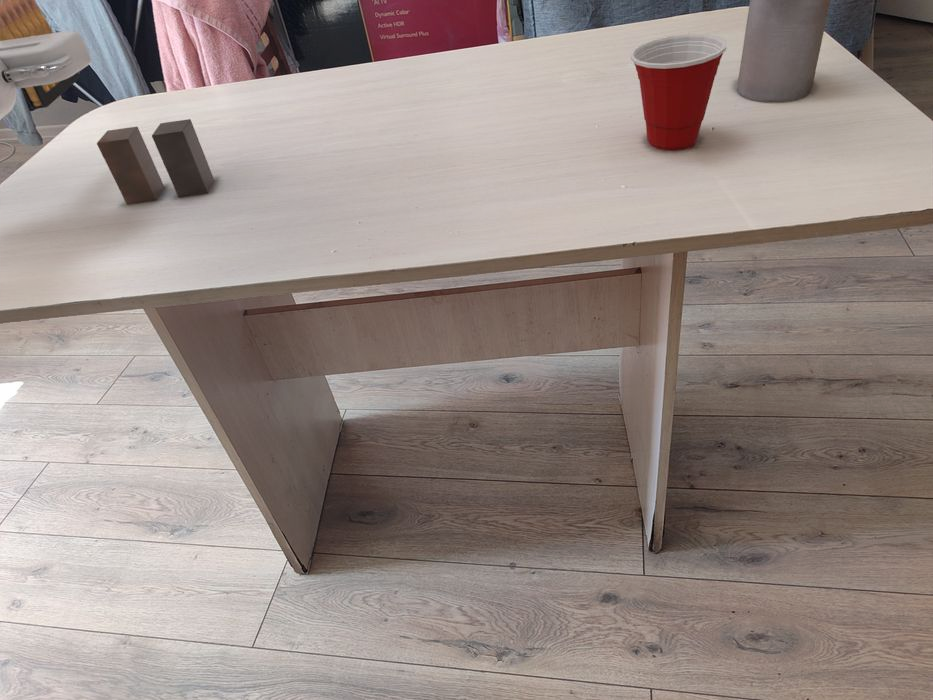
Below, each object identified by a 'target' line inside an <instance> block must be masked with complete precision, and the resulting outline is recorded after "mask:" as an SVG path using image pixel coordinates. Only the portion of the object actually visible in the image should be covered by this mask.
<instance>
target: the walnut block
mask: <svg viewBox="0 0 933 700" xmlns="http://www.w3.org/2000/svg"><path fill="white" fill-rule="evenodd" d="M96 145H97V148H98V149H99V152H100V153H101V155H102V158H103V160H104V161H105V164H106V165H107V167H108V170H109V172H110V173H111V176H112V177H113V179H114V181H115V183H116V186H117V187H118V190H119V191H120V194H121V196H122V198H123V200H124V202H125V204H126V205H127V206H129V205H135V204H141V203H142V204H143V203H149V202H156V201H158V199H159V197H160V196H161V194H162V192H163V190H164V188H165V185H164V183H163V179H162V178H161V176H160V174H159V171H158V170H157V167H156V165H155V162H154V160H153V158H152V156H151V154H150V152H149V149H148V146H147V144H146V142H145V140H144V137H143V136H142V133H141V132H140V129H139V126H130V127H124V128H116V129H110V130H109V129H108V130H107V131H106V132H105V133H104V134H103V135H102V136H101V137H100V139H99V140H98V141H97V142H96Z"/></svg>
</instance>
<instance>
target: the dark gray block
mask: <svg viewBox="0 0 933 700" xmlns="http://www.w3.org/2000/svg"><path fill="white" fill-rule="evenodd" d="M151 138H152V140H153V142H154V144H155V147H156V149H157V151H158V153H159V156H160V158H161V160H162V163H163V165H164V168H165V170H166V172H167V174H168V177H169V179H170V182H171V183H172V185H173V188H174V190H175V192H176V195H177V197H178V199H179V198H186V197H193V196H194V197H195V196H200V195H201V196H202V195H208V194H209V192H210V190H211V189H212V186H213V184H214V182H215V178H214V175H213V173H212V170H211V168H210V165H209V163H208V160H207V158H206V154H205V152H204V150H203V147H202V145H201V142H200V139H199V137H198V135H197V132H196V129H195V126H194V124H193V122H192V119H190V118H188V119H181V120H173V121H165V122H161V123H159V124H158V126H157V127H156V129H155V130H154V132H153V133H152V134H151Z"/></svg>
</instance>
